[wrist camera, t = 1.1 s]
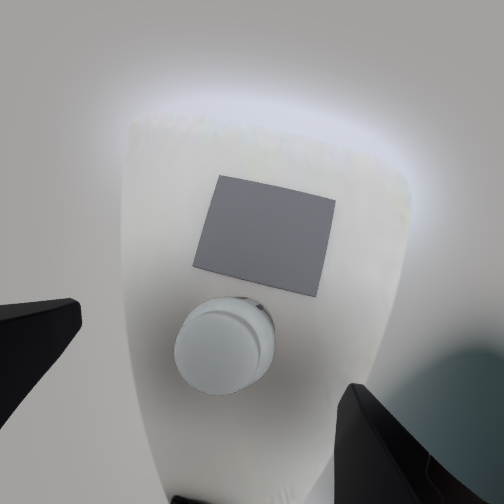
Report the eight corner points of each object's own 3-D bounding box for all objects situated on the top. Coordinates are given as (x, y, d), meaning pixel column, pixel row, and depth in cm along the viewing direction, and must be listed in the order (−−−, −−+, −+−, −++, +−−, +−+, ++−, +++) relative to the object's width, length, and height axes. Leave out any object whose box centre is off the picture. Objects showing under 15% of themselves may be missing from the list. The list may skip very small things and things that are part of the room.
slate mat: (315, 296, 21) (315, 296, 21) (194, 266, 22) (192, 265, 22) (334, 202, 22) (335, 200, 22) (220, 177, 24) (219, 175, 23)
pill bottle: (198, 347, 21) (146, 379, 12) (221, 286, 22) (181, 278, 12) (260, 372, 21) (249, 425, 11) (285, 311, 21) (294, 322, 12)
